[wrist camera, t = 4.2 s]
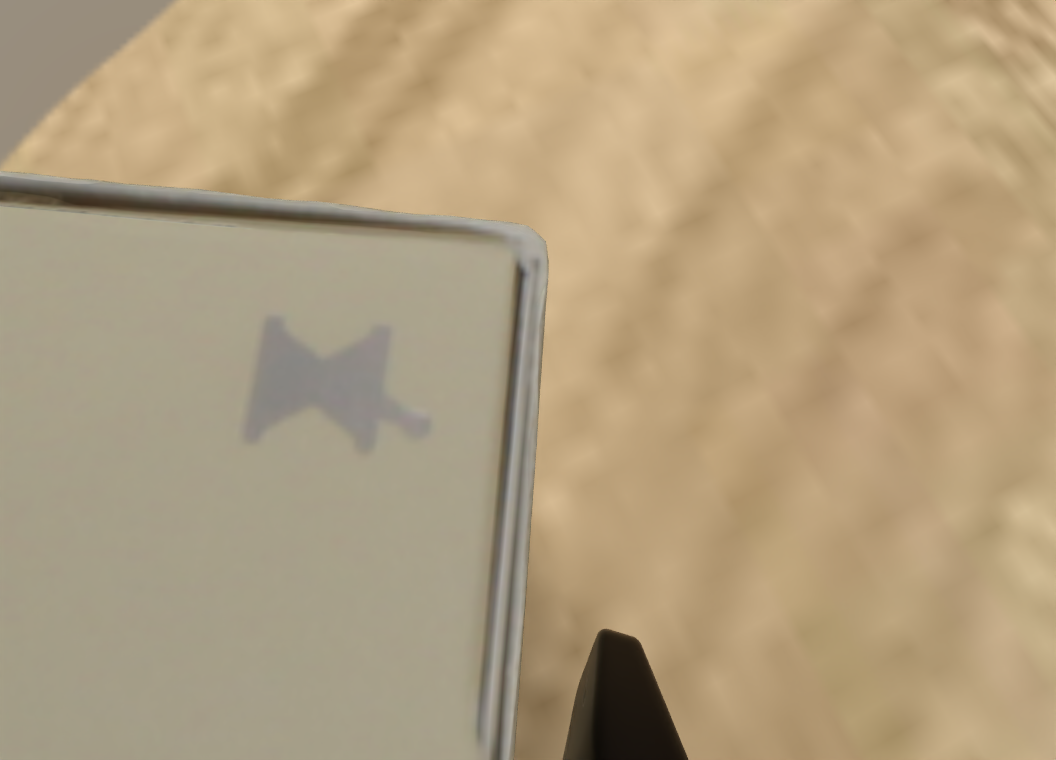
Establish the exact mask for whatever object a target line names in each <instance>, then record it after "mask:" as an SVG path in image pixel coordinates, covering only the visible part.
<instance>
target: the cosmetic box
mask: <svg viewBox="0 0 1056 760" xmlns="http://www.w3.org/2000/svg"><path fill="white" fill-rule="evenodd" d="M547 286H548V254H547V247H546V241H545V240H544V239H543V238H542V237H541V236H540V235H538V234H537V233H536V232H535V231H534V230H533V229H531V228H530V227H528V226H526V225H522V224H517V223H512V222H503V221H493V220H482V219H472V218H464V217H456V216H443V215H419V214H409V213H400V212H392V211H384V210H378V209H371V208H364V207H358V206H351V205H344V204H335V203H326V202H317V201H295V200H282V199H270V198H261V197H253V196H246V195H238V194H231V193H223V192H216V191H209V190H201V189H188V188H174V187H161V186H148V185H135V184H123V183H115V182H107V181H98V180H89V179H71V178H63V177H55V176H47V175H39V174H31V173H18V172H6V171H0V760H514V751H515V737H516V724H517V710H518V697H519V683H520V670H521V656H522V642H523V629H524V615H525V602H526V588H527V574H528V559H529V545H530V531H531V517H532V503H533V489H534V474H535V460H536V446H537V431H538V414H539V398H540V383H541V369H542V354H543V339H544V324H545V309H546V298H547Z"/></svg>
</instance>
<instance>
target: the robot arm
mask: <svg viewBox="0 0 1056 760" xmlns="http://www.w3.org/2000/svg"><path fill="white" fill-rule="evenodd" d="M563 760H688V757H687V755H686V752H685V750H684V748H683V745H682V743H681V740H680V738H679V735H678V733H677V730H676V728H675V726H674V723H673V721H672V718H671V716H670V713H669V711H668V709H667V706H666V704H665V701H664V699H663V696H662V694H661V692H660V689H659V687H658V684H657V682H656V679H655V677H654V674H653V672H652V670H651V667H650V665H649V662H648V660H647V657H646V655H645V653H644V650H643V648H642V645H641V643H640V642H639V641H638V640H637V639H636V638H635V637H632V636H629V635H626V634H622V633H619V632H616V631H612V630H609V629H603V630H601V631H600V632H599V633H598V634H597V637H596V639H595V642H594V644H593V647H592V650H591V652H590V655H589V658H588V661H587V663H586V666H585V669H584V671H583V674H582V677H581V679H580V682H579V686H578V689H577V693H576V697H575V702H574V707H573V712H572V717H571V722H570V727H569V732H568V737H567V742H566V747H565V752H564V757H563Z"/></svg>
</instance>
